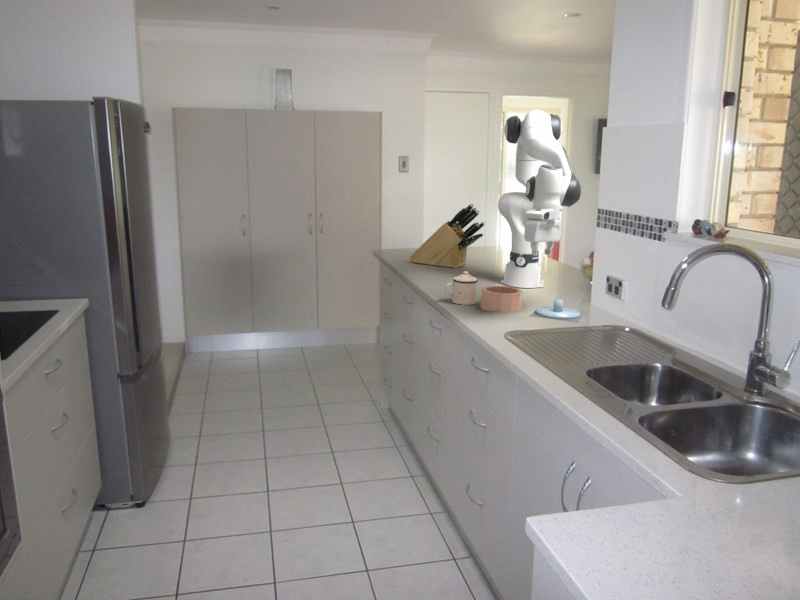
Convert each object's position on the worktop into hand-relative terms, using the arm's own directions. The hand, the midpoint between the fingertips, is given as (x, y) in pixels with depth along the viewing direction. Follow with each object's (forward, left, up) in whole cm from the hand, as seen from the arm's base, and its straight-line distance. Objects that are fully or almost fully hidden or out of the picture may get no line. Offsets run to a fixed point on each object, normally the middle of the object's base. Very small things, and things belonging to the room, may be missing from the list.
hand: (541, 255), depth 219 cm
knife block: (-80, -63, -22) cm, 104 cm away
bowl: (-4, -14, -21) cm, 25 cm away
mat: (-5, +6, -21) cm, 23 cm away
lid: (-5, +6, -21) cm, 22 cm away
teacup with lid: (-6, -30, -22) cm, 37 cm away
